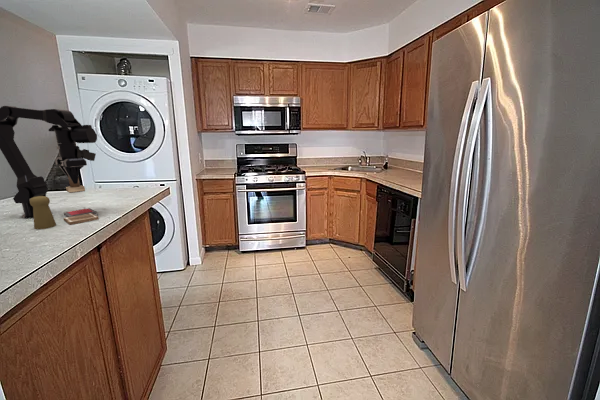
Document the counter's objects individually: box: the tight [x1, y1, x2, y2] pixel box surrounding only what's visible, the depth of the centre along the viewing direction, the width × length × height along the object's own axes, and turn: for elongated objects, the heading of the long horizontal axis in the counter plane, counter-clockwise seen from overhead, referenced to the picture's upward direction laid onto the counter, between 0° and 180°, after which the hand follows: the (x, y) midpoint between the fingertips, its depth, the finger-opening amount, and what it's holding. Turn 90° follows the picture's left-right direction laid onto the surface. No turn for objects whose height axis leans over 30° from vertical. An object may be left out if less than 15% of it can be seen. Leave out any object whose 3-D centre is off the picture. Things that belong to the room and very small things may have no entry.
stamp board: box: [63, 213, 100, 226], centre depth 110 cm, size 9×9×1 cm
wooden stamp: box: [65, 175, 86, 194], centre depth 114 cm, size 5×5×9 cm
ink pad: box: [63, 207, 98, 218], centre depth 118 cm, size 9×9×1 cm
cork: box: [30, 195, 57, 230], centre depth 101 cm, size 6×6×11 cm
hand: (74, 183), depth 114 cm, fingers closed on wooden stamp, 3 cm apart
